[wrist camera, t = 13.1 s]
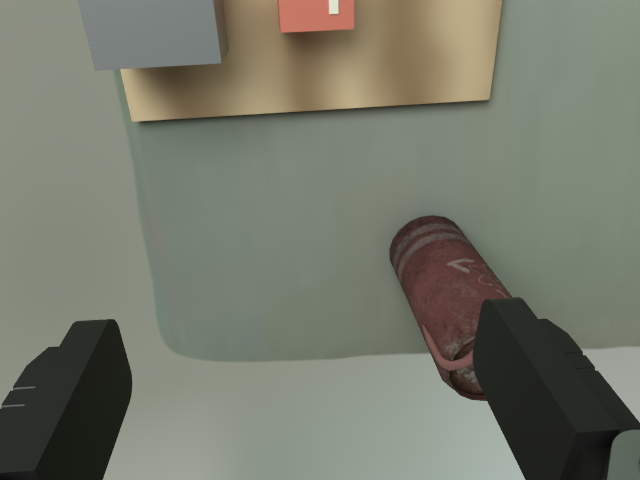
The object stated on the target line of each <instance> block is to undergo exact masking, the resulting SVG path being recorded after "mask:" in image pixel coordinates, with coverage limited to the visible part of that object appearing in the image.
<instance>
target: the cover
mask: <svg viewBox="0 0 640 480" xmlns="http://www.w3.org/2000/svg"><path fill="white" fill-rule="evenodd" d="M78 4H79V7H80V11H81V15H82V19H83V23H84V27H85V31H86V35H87V39H88V43H89V46H90V51H91V55H92V59H93V63H94V66H95V70H114V69H131V68H149V67H166V66H183V65H201V64H218V63H222V61H223V60H224V58H225V56H226V54H227V52H228V50H229V47H228V39H227V31H226V23H225V15H224V7H223V0H78Z"/></svg>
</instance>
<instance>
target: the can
mask: <svg viewBox="0 0 640 480" xmlns="http://www.w3.org/2000/svg"><path fill="white" fill-rule="evenodd" d="M390 261H391V263H392V266H393V268H394V270H395V273H396V275H397V277H398V279H399V282H400V284H401V286H402V289H403V291H404V293H405V295H406V298H407V300H408V302H409V305H410V307H411V309H412V312H413V314H414V316H415V318H416V321H417V323H418V325H419V328H420V330H421V332H422V335H423V337H424V339H425V341H426V344H427V346H428V348H429V351H430V353H431V355H432V358H433V360H434V362H435V364H436V367H437V369H438V371H439V374H440V376H441V378H442V380H443V381H444V382H445V383H447V385H449V386H450V387H451V388H452V389H454V390H455V391H456V392H457V393H458V394H459V395H461V396H463V397H466V398H468V399H471V400H480V401H487V399H486V397H485V395H484V393H483V391H482V389H481V387H480V385H479V383H478V381H477V379H476V376H475V372H474V368H473V358H472V356H473V347H474V342H475V337H476V331H477V326H478V320H479V315H480V310H481V305H482V303H483V301H484V300H486V299H497V298H512V296H511V295H510V294H509V292H508V291H507V290H506V288H505V287H504V286H503V285H502V283H501V282H500V281H499V279H498V278H497V277H496V275H495V274H494V273H493V271H492V270H491V269H490V268H489V266H488V265H487V264H486V262H485V261H484V260H483V258H482V257H481V256H480V255H479V253H478V252H477V251H476V249H475V248H474V247H473V245H472V244H471V243H470V242H469V240H468V239H467V238H466V236H465V235H464V234H463V232H462V231H461V230H460V229H459V227H458V226H457V225H456V224H455V223H454V222H452V221H451V220H449V219H447V218H445V217H440V216H426V217H420V218H418V219H415V220H413V221H411V222H409V223H408V224H406V225H405V226H404V227H403V228H401V229H400V230H399V232H398V233H397V234H396V236H395V237H394V239H393V241H392V244H391V247H390Z"/></svg>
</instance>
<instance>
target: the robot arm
mask: <svg viewBox="0 0 640 480" xmlns="http://www.w3.org/2000/svg"><path fill="white" fill-rule="evenodd" d="M472 358H473V368H474V372H475V376H476V379H477V381H478V383H479V385H480V387H481V389H482V391H483V393H484V395H485V397H486V399H487V401H488V404H489V406H490V407H491V410H492V412H493V414H494V416H495V418H496V420H497V422H498V424H499V426H500V428H501V430H502V432H503V434H504V436H505V438H506V440H507V443H508V445H509V447H510V449H511V451H512V453H513V455H514V457H515V459H516V461H517V463H518V465H519V467H520V469H521V471H522V473H523V475H524V477H525V479H526V480H640V423H639V421H638V420H637V419H636V418H635V416H634V415H633V414H632V413H631V411H630V410H629V409H628V408H627V407H626V405H625V404H624V403H623V402H622V400H621V399H620V398H619V396H618V395H617V394H616V393H615V391H614V390H613V389H612V388H611V386H610V385H609V384H608V383H607V381H606V380H605V379H604V378H603V376H601V374H600V373H599V372H598V371H595V367H594V365H593V364H592V363H591V362H590V360H589V359H588V358H587V357H586V355H585V356H583V352H582V350H581V349H580V348H579V347H578V345H577V344H576V343H575V342H574V340H573V339H572V338H571V337H570V335H569V334H568V333H566V332H565V331H564V330H562V329H561V328H559V327H558V326H556V325H555V324H553V323H552V322H551V321H549V320H548V319H538V318H537V317H536V316H535V314H534V313H533V312H532V310H531V309H530V308H529V306H528V305H527V304H526V302H525V301H524V300H523V299H522V298H519V297H515V298H497V299H486V300H484V301H483V303H482V305H481V310H480V315H479V320H478V326H477V331H476V337H475V342H474V347H473V356H472ZM131 393H132V374H131V370H130V366H129V362H128V359H127V355H126V352H125V348H124V345H123V341H122V337H121V334H120V330H119V327H118V324H117V322H116V321H115V320H113V319H107V320H89V321H76V322H75V323H73V324H72V326H71V328H70V329H69V331H68V333H67V334H66V336H65V338H64V339H63V341H62V343H61V344H60V346H59V347H48V348H47V349H46V350H45V351H43V352H42V353H41V354H40V355H39V356H38V357H37V358H36V359H34V360H33V361H32V362H30V363H29V364H28V365H27V366H26V368H25V369H24V371H23V372H22V374H21V375H20V377H19V379H18V380H17V382H16V383H15V385H14V386H13V391H10V392H9V394H8V396H7V397H6V399H5V400H4V402H3V403H2V408H1V409H0V480H102V479H103V477H104V474H105V471H106V468H107V465H108V462H109V459H110V457H111V454H112V450H113V448H114V445H115V442H116V439H117V437H118V434H119V431H120V428H121V425H122V422H123V419H124V417H125V414H126V410H127V408H128V405H129V402H130V398H131Z"/></svg>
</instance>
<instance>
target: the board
mask: <svg viewBox="0 0 640 480" xmlns="http://www.w3.org/2000/svg"><path fill="white" fill-rule="evenodd" d="M223 7H224V15H225V23H226V31H227V39H228V47H229V50H228V52H227V54H226V56H225V58H224V60H223V61H222V63H218V64H201V65H183V66H166V67H149V68H131V69H120V70H121V75H122V79H123V83H124V88H125V92H126V97H127V101H128V106H129V110H130V114H131V119H132V122H135V121H151V120H167V119H184V118H200V117H216V116H232V115H249V114H265V113H281V112H297V111H314V110H330V109H346V108H363V107H379V106H395V105H411V104H428V103H444V102H460V101H477V100H489V99H490V92H491V84H492V76H493V69H494V61H495V53H496V46H497V38H498V30H499V23H500V15H501V7H502V0H354V29H346V30H326V31H306V32H286V33H281V32H280V28H279V17H278V3H277V0H223Z"/></svg>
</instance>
